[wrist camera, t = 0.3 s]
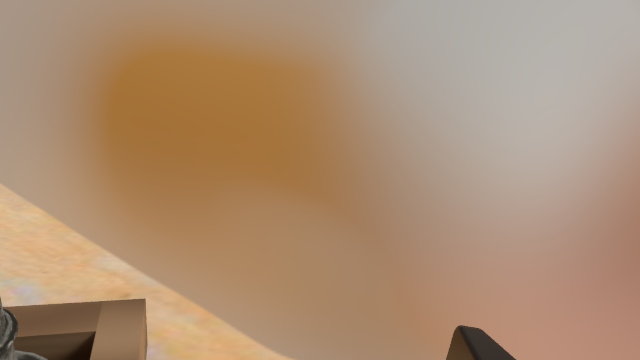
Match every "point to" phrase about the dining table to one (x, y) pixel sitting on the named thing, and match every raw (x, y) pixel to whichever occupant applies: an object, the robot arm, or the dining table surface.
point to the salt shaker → (11, 338)
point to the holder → (83, 330)
